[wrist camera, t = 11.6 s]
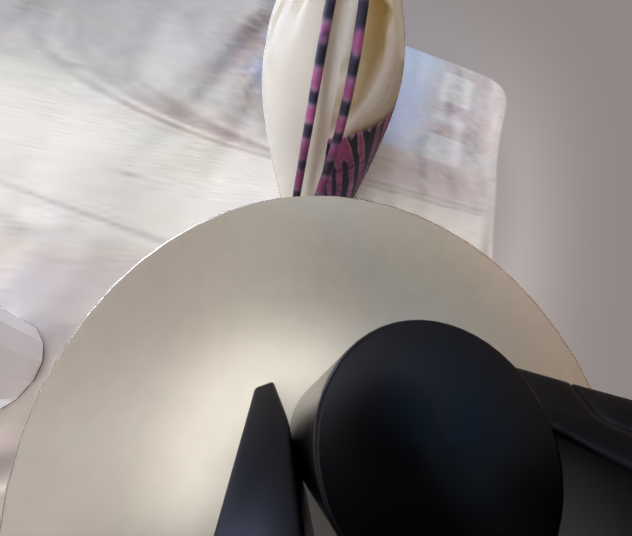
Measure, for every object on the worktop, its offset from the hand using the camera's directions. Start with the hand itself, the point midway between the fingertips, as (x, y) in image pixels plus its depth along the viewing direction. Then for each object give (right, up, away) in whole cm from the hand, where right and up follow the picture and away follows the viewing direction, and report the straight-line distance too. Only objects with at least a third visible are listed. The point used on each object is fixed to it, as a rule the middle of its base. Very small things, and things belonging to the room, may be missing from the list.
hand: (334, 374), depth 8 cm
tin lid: (0, -2, +1) cm, 2 cm away
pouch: (-1, +11, +20) cm, 23 cm away
